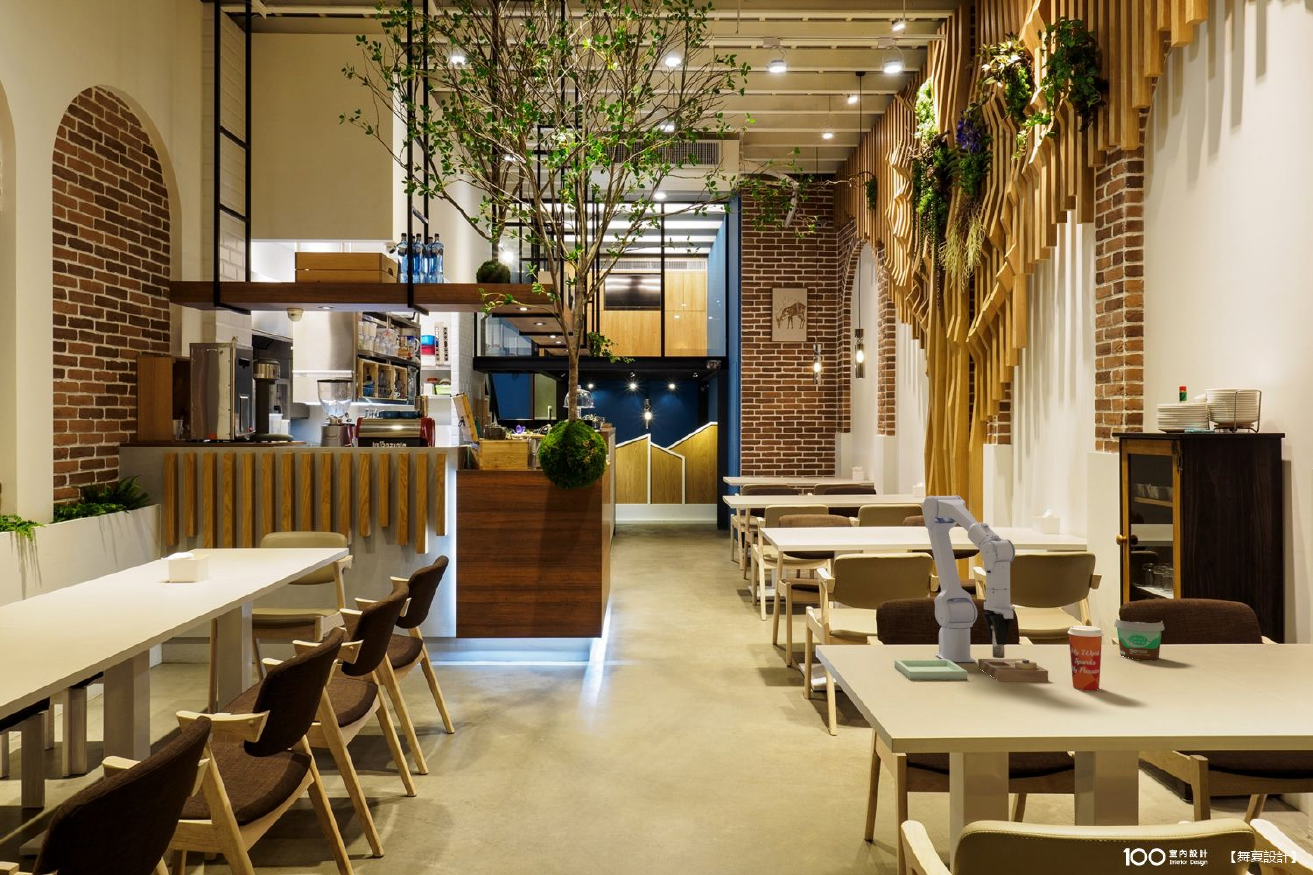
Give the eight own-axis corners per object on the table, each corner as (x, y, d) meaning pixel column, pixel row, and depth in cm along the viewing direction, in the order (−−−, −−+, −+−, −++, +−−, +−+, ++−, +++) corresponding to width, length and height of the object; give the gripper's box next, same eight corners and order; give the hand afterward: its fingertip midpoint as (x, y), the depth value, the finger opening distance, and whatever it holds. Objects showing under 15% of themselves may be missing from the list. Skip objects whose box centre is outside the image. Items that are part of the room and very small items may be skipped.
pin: (988, 655, 242) (988, 624, 243) (1003, 655, 242) (1002, 624, 243) (994, 658, 239) (993, 626, 239) (1008, 658, 239) (1008, 626, 239)
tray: (894, 667, 248) (894, 659, 248) (948, 667, 248) (948, 659, 248) (909, 679, 234) (909, 671, 234) (967, 679, 234) (967, 671, 234)
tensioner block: (978, 668, 247) (978, 651, 247) (1024, 668, 247) (1024, 651, 247) (998, 681, 233) (998, 663, 233) (1048, 681, 233) (1047, 663, 233)
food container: (1118, 659, 257) (1117, 622, 258) (1114, 655, 263) (1114, 618, 263) (1169, 662, 254) (1169, 624, 254) (1164, 658, 260) (1164, 620, 260)
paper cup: (1066, 689, 224) (1066, 629, 225) (1069, 682, 231) (1069, 624, 231) (1103, 693, 221) (1103, 631, 221) (1105, 686, 228) (1104, 626, 228)
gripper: (1025, 592, 234) (1025, 648, 234) (1002, 584, 248) (1003, 637, 248) (996, 592, 234) (997, 648, 234) (975, 584, 248) (975, 637, 248)
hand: (998, 642), depth 241 cm, fingers closed on pin, 3 cm apart
